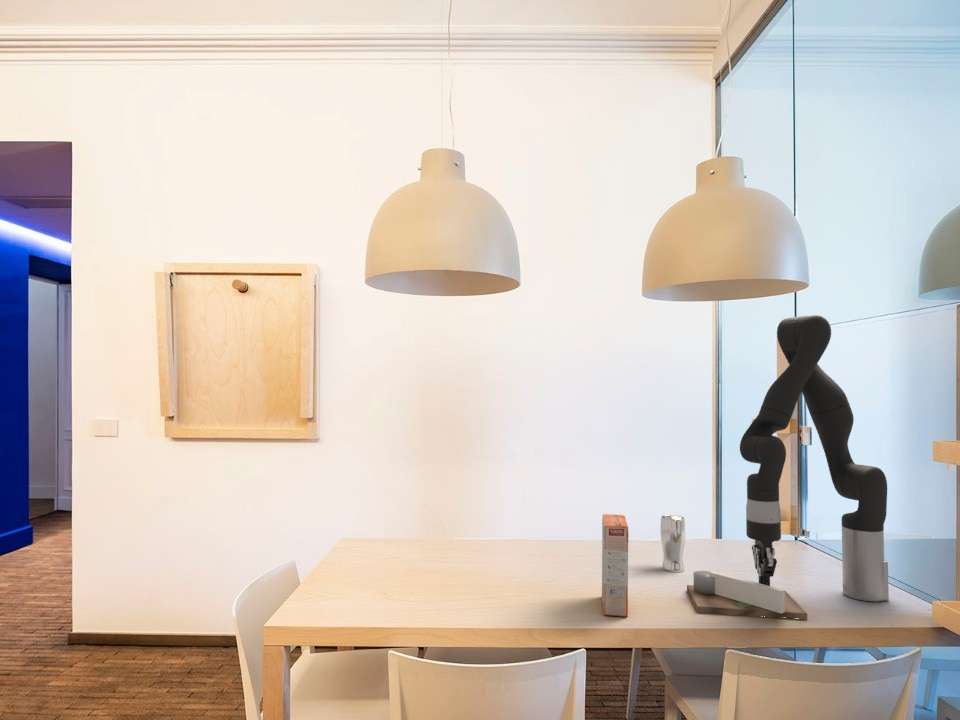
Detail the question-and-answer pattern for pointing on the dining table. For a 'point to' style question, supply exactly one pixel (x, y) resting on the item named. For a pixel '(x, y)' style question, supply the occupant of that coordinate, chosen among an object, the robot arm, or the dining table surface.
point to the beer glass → (673, 542)
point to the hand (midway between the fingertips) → (764, 591)
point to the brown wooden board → (741, 606)
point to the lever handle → (740, 590)
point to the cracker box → (615, 565)
